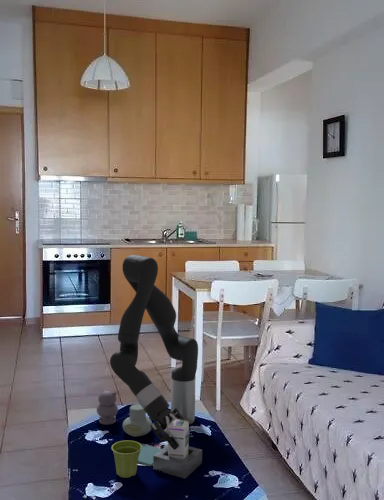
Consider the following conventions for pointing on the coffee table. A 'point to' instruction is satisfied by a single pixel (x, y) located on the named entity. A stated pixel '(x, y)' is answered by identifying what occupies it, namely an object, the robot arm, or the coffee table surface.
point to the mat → (147, 454)
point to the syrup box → (179, 439)
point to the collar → (177, 462)
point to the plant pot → (126, 457)
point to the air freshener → (137, 422)
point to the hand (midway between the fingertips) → (182, 443)
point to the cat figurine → (107, 407)
